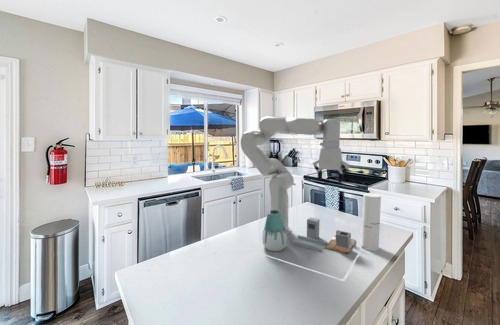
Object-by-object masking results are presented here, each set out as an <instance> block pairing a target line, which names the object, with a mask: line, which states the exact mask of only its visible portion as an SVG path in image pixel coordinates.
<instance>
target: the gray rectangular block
mask: <svg viewBox="0 0 500 325" xmlns="http://www.w3.org/2000/svg"><path fill="white" fill-rule="evenodd" d="M306 237H309V238H313V239H317V240H319V238H320V218H314V217H309V218H307V219H306Z"/></svg>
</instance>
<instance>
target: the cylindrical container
mask: <svg viewBox="0 0 500 325" xmlns="http://www.w3.org/2000/svg"><path fill="white" fill-rule="evenodd" d="M381 202H382V195H381V194H380V193H379V194H378V193H374V192H373V193H372V192H371V193H370V192H367V193H363V203H362V220H361V221H362V224H361V226H362V227H361V230H362V231H361V244H360V245H361V248H362V249H364V250H365V251H369V252H370V251H371V252H376V251H378V250H379V246H380V245H379V244H380V225H381V224H380V221H381V204H382V203H381Z"/></svg>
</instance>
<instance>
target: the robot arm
mask: <svg viewBox="0 0 500 325" xmlns="http://www.w3.org/2000/svg"><path fill="white" fill-rule="evenodd" d="M258 127H259V129H258V130H246V131H245V132H243V134H242V135H241V138H240V147H241V151H242V152H243V154H244V155H245V157H247V159H248V160H250V162H251V164H253V166H254V167H255V168H256V170H258V171H259V173H260V174H261V175H262V176H263V177H271V178H270V181H269V183H268V186H269V194H270V195H269V196H270V211H271V210H278V211H279V212H280V213H281V215H282V217H283V221H284V225H285V228H286V233H287V235H289V234H291V233H292V229H291V228H290V227H289V194H288V189H290V188H292V187H293V184H294V182H295V181H294V180H295V178H294V176H293V175H292V173H291V172H290V171H289V170H288V168H287V167H286V166H285V165H284V164H283V163H282V162H281V161H280V160H279V159H277V158H275V157H274V158H273V157H271V158H270V157H268V156H267V155H266V153H264V151H263V150H262V149H261V148H259V147H258V146H262V145H264V144H265V143H266V142H268V141H269V140H270V139H272V137H273V136H274V135H276V134H280V135H281V134H282V135H307V136H319V135H322V142H320V143H319V145H320V146H321V147H320V152H319V155H318V156H319V157H318V160H316V161H314V162H312V166H313V167H314V169H315V171H316V172H317V179H318V181H322V180H323V170H330V171H331V170H333V171H338V172H339V174H338V183H342V182H343V181H344V174H345V173H346V172H347V171H348V170H349V168H350V166H351V165H350V164H349V163H348V162H346V161H344V160H343V154H342V149H341V148H340V142H341V141H340V138H341V136H340V134H341V121H340V119H337V118H328V119H317V118H306V117H305V118H301V117H299V118H296V117H286V116H265V117H262V118H261V119H260V120H259V122H258ZM343 166H345V167H344V169H343Z"/></svg>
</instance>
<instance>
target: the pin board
mask: <svg viewBox="0 0 500 325" xmlns="http://www.w3.org/2000/svg"><path fill="white" fill-rule="evenodd" d="M339 231H341V230H340V229H336V230H335V235H334V236H332V237H331V239H330V240H329V242H327V245H326V246H325V248H324V249H326V250H328V251H329V250H330V251H332V252H333V251H334V252H336V253H337V252H338V253H342V254H345V255H348V254H349V253H350V251H351V250H352V248H353V247H354V245H355V244H356V243H357V240H356V239H353V238H351V246H350V249H349V251H348V252H345V251H341V250H337V249H336V234H337V233H338V232H339Z"/></svg>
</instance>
